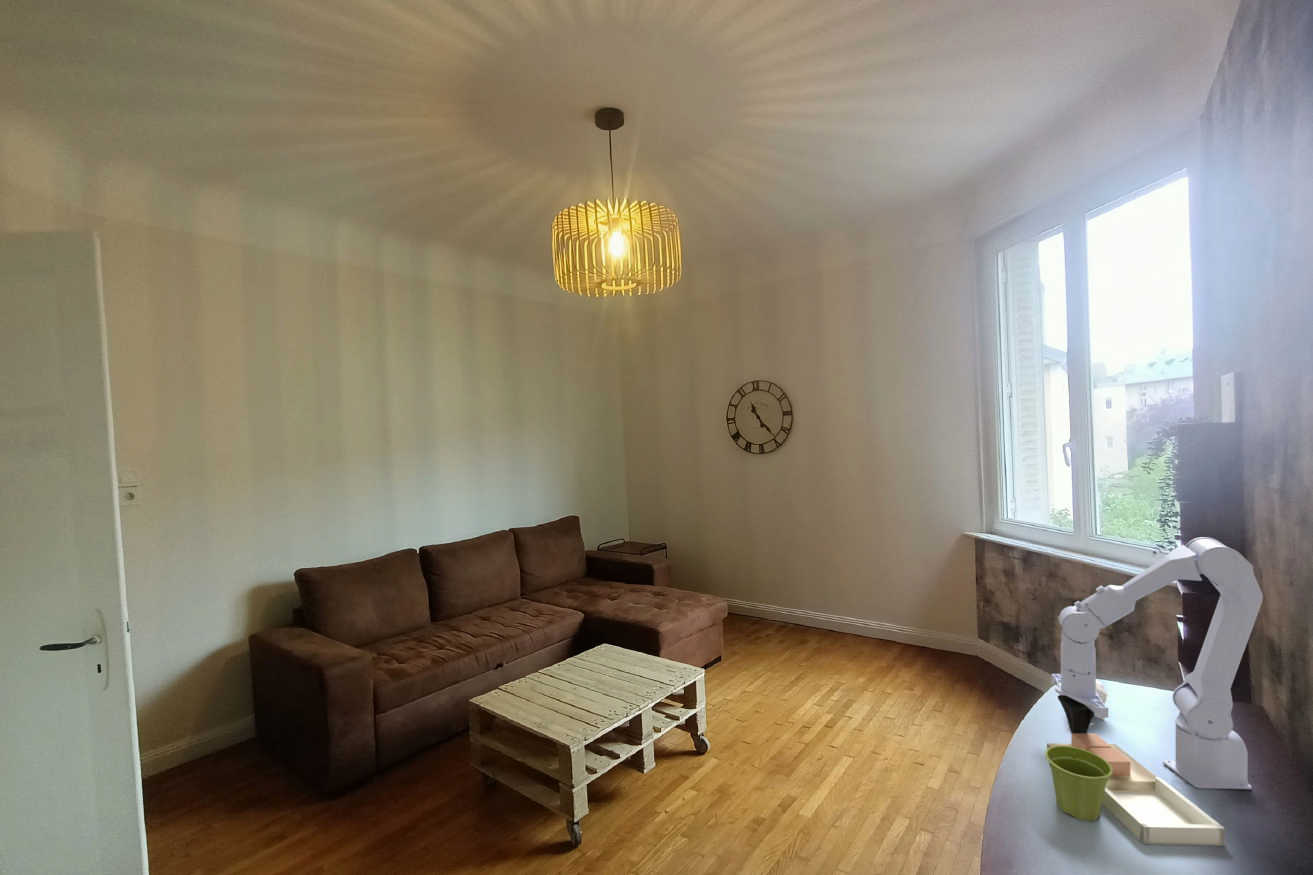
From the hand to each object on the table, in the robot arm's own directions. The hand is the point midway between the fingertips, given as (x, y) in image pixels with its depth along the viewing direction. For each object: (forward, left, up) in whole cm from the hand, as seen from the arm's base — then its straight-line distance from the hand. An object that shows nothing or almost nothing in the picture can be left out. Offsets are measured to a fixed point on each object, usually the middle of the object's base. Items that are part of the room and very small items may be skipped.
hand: (1078, 734), depth 118 cm
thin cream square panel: (0, +7, -3) cm, 8 cm away
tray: (0, +19, -3) cm, 20 cm away
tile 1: (0, +4, -1) cm, 4 cm away
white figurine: (-9, -12, -4) cm, 15 cm away
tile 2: (0, +9, -1) cm, 9 cm away
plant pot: (+11, +18, -4) cm, 21 cm away
